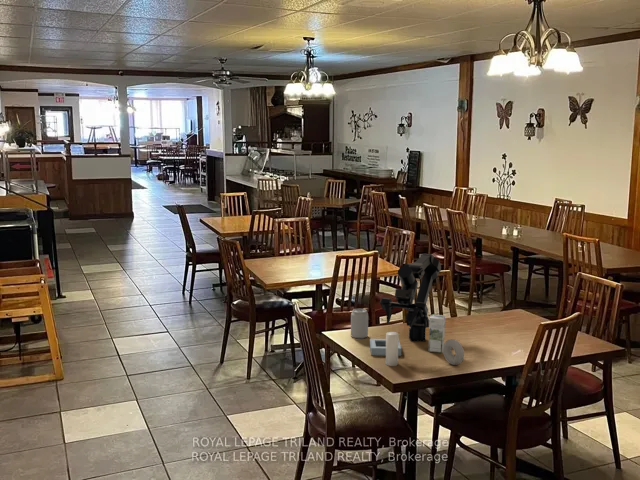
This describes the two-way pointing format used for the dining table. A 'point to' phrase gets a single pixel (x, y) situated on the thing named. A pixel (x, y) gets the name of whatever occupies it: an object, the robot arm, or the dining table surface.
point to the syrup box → (436, 333)
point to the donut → (457, 348)
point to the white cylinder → (392, 348)
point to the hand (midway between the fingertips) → (398, 324)
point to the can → (359, 323)
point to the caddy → (380, 347)
